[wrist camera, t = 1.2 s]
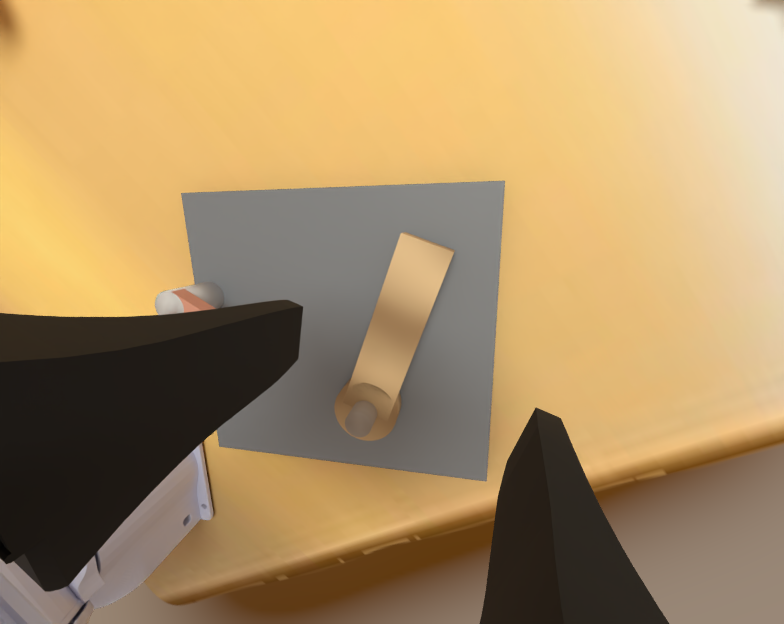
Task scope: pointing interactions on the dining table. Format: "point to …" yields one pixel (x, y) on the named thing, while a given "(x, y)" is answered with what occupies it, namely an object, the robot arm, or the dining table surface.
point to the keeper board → (356, 313)
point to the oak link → (392, 338)
